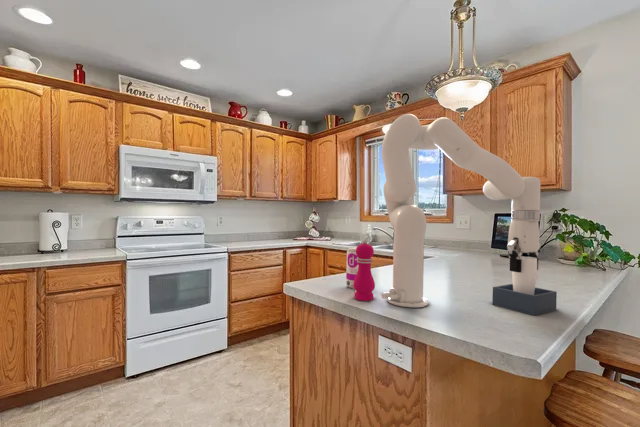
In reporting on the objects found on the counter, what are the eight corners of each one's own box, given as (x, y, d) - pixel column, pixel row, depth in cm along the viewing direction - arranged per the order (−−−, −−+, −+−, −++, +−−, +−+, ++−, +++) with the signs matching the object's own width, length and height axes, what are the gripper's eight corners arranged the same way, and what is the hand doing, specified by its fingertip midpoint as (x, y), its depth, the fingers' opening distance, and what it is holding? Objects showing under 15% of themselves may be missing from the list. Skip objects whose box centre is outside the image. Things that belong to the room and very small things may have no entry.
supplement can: (361, 290, 117) (362, 249, 117) (342, 287, 121) (343, 248, 121) (370, 286, 124) (371, 248, 124) (352, 283, 128) (352, 246, 128)
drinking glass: (540, 308, 95) (541, 259, 95) (516, 307, 97) (516, 258, 97) (530, 302, 102) (531, 256, 102) (507, 301, 103) (508, 255, 103)
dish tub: (534, 315, 91) (535, 296, 91) (492, 304, 102) (492, 286, 102) (556, 309, 97) (556, 291, 97) (514, 299, 108) (514, 283, 108)
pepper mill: (360, 302, 101) (361, 240, 101) (349, 296, 108) (350, 238, 108) (379, 300, 104) (380, 239, 104) (367, 294, 110) (368, 237, 110)
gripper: (527, 216, 107) (526, 266, 107) (497, 215, 98) (496, 270, 98) (552, 217, 100) (551, 270, 100) (522, 216, 92) (521, 274, 92)
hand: (524, 270), depth 99 cm, fingers open, 9 cm apart
